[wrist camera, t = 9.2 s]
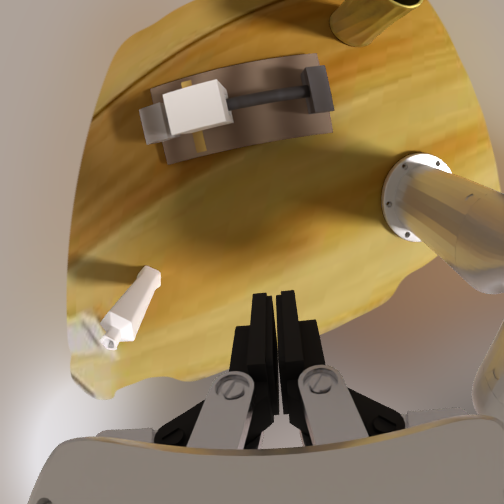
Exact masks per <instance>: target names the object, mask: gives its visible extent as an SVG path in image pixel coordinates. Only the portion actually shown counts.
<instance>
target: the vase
mask: <svg viewBox="0 0 504 504" xmlns="http://www.w3.org/2000/svg"><path fill="white" fill-rule="evenodd" d="M422 2H423V0H345V1H344V2H343V3H342V4H341V5H340V6H339V8H338V9H337V10H335V11H334V12H333V14H332V15H331V16H330V27H331V30H332V32H333V33H334V35H335V36H336V37H337V38H338V39H339V40H341V41H342V42H344V43H345V44H348V45H350V46H354V47H363V46H366V45H369V44H370V43H371V42H372V41H373V40H374V39H375V38H376V37H377V36H378V35H380V34H381V33H382V32H383V31H384V30H386V29H387V28H388V27H389V26H390V25H392V24H393V23H394V22H395V21H397V20H398V19H400V18H401V17H403V16H405V15H406V14H407V13H409V12H410V11H411V10H413V9H416V8H417V7H418V6H419V5H420V4H421V3H422Z"/></svg>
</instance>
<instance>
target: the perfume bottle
mask: <svg viewBox="0 0 504 504" xmlns="http://www.w3.org/2000/svg"><path fill="white" fill-rule="evenodd" d="M160 286H161V273H160V272H159V271H157V270H155V269H153V268H151V267H149V266H147V265H145V266H144V267H143V269H142V270H141V271H140V272H139V273H138V275H137V279H136V280H135V282H134V283H133V284H132V285H131V286H130V287H129V288H128V290H127V291H126V292H125V293H124V294H123V295H122V296H121V298H120V299H119V300H118V301H117V302H116V303H115V305H114V306H113V307H112V308H111V309H110V311H109V312H108V313H107V314H106V316H105V317H104V318H103V320H102V321H101V322H100V325H101V326H102V327H103V328H104V330H105V331H106V333H105V335H104V336H103V337H102V338H101V339H100V342H101V343H102V344H103V346H104V347H105V348H106V349H108V350H117V345H118V343H119V342H120V341H134V339H135V337H136V334H137V332H138V329H139V327H140V324H141V322H142V319H143V317H144V315H145V312H146V310H147V307H148V305H149V303H150V300H151V298H152V296H153V294H154V291H155V289H157V288H158V287H160Z"/></svg>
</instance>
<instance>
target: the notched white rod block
mask: <svg viewBox="0 0 504 504" xmlns="http://www.w3.org/2000/svg"><path fill="white" fill-rule="evenodd" d="M227 98H228V95H227V90H226V89H225V88H224V87H223V86H222V85H221V83H220V82H219V81H218V80H217V79H215V80H211V81H207V82H204V83H200V84H196V85H193V86H189V87H186V88H182V89H179V90H175V91H172V92H169V93H166V94H163V99H164V104H165V109H166V113H167V117H168V122H169V126H170V130H171V135H179V134H188V133H193V132H197V131H201V130H205V129H209V128H213V127H218V126H222V125H226V124H231V123H234V122H233V117H232V113H231V111H228V107H227V102H226V99H227Z"/></svg>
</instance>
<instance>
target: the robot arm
mask: <svg viewBox="0 0 504 504" xmlns="http://www.w3.org/2000/svg"><path fill="white" fill-rule="evenodd" d="M435 163H436V164H435ZM402 165H403V167H402ZM381 202H382V210H383V215H384V217H385V220H386V222H387V224H388V225H389V227H390V228H391V229H392V230H393V231H394V232H395V233H396V234H397V235H398V236H399V237H401V238H403V239H405V240H407V241H411V242H424V243H425V244H426V245H427V246H428V247H429V248H430V249H432V250H433V251H434V252H435V253H436V254H437V255H438V256H439V257H441V258H442V259H443V260H444V261H445V262H446V263H447V264H448V265H449V266H451V267H452V268H453V269H454V270H455V271H456V272H457V273H458V274H459V275H460V276H461V277H462V278H463V279H464V280H465V281H466V282H468V283H469V284H470V285H471V286H472V287H473V288H475V289H476V290H478V291H480V292H483V293H487V294H499V293H504V194H503V193H500V192H498V191H495V190H493V189H491V188H488V187H486V186H483V185H481V184H478V183H476V182H473V181H471V180H468V179H466V178H463V177H460V176H458V175H455V174H452V172H451V170H450V169H449V167H448V166H447V165H446V164H445V163H444V162H443V161H442V160H441V159H439V158H438V157H436V156H433V155H430V154H426V153H414V154H411V155H407V156H406V157H404V158H402V159H401V160H399V161H398V162H397V163H396V164H395V165H394V166H393V168H392V169H391V170H390V172H389V173H388V175H387V177H386V179H385V182H384V185H383V189H382V196H381ZM387 202H388V204H387ZM276 309H277V336H278V348H277V338H276V328H275V319H274V310H273V301H272V296H267V294H266V293H257V294H253V298H252V310H251V322H250V325H248V326H236V329H235V335H234V341H233V348H232V355H231V362H230V369H229V372H227V373H224V374H222V375H220V376H218V377H217V378H216V379H215V380H214V381H213V383H212V384H211V387H210V389H209V392H208V394H207V397H206V399H205V400H203V401H202V402H200V403H199V404H197V405H196V406H194V407H193V408H191V409H190V410H188V411H186V412H185V413H183V414H181V415H180V416H178V417H177V418H175V419H173V420H172V421H170V422H168V423H167V424H165V425H164V426H162V427H161V428H160V429H159V430H153V429H152V428H144V429H125V430H106V431H102V432H100V433H99V434H97V436H96V437H82V438H74V439H70V440H67V441H64V442H63V443H61V444H59V445H58V446H57V447H56V448H55V449H54V450H53V452H52V453H51V455H50V456H49V458H48V459H47V461H46V463H45V465H44V466H43V468H42V470H41V473H40V474H39V477H38V479H37V481H36V483H35V486H34V488H33V490H32V493H31V496H30V498H29V501H28V504H504V320H503V322H502V324H501V326H500V329H499V331H498V333H497V335H496V337H495V338H494V341H493V342H492V344H491V346H490V348H489V350H488V352H487V354H486V356H485V358H484V360H483V361H482V363H481V365H480V367H479V369H478V371H477V374H476V376H475V379H474V382H473V387H472V400H473V405H474V408H475V410H476V412H477V414H478V415H469V414H468V413H467V412H466V411H465V410H464V409H461V408H457V407H452V408H444V409H434V410H422V411H408V412H407V414H400V413H398V412H396V411H395V410H393V409H391V408H389V407H386V406H384V405H382V404H380V403H378V402H376V401H374V400H372V399H370V398H368V397H366V396H364V395H362V394H359V393H357V392H355V391H353V390H352V389H349V388H348V387H347V386H346V384H345V381H344V379H343V377H342V375H341V374H340V372H339V371H338V370H337V369H335V368H334V367H331V366H328V365H325V360H324V356H323V351H322V346H321V341H320V336H319V331H318V326H317V322H316V320H306V321H298V314H297V307H296V300H295V293H294V290H290V291H281V295H276ZM278 362H279V373H280V383H281V392H282V403H283V413H284V414H289V420H290V423H291V424H292V425H294V426H295V427H297V428H298V429H299V430H300V436H301V440H302V444H303V447H294V448H278V449H261V447H262V442H263V438H264V430H265V429H266V428H267V427H269V426H270V425H271V424H272V423H273V422H274V415H279V384H278V383H279V380H278Z"/></svg>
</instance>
